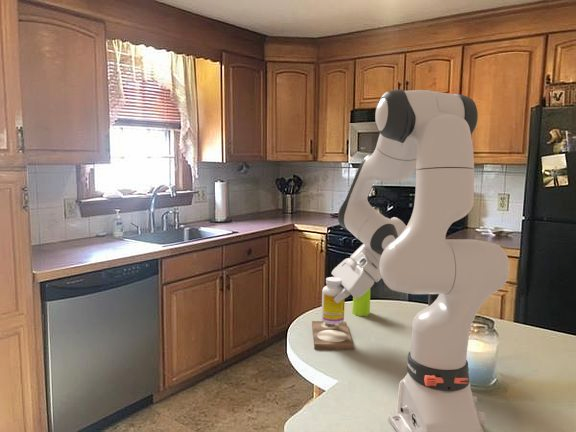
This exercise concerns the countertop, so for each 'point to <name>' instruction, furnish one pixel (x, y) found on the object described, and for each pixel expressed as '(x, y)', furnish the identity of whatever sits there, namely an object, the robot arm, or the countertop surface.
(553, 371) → the countertop surface
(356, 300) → the soap dispenser
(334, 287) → the supplement bottle
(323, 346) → the board
